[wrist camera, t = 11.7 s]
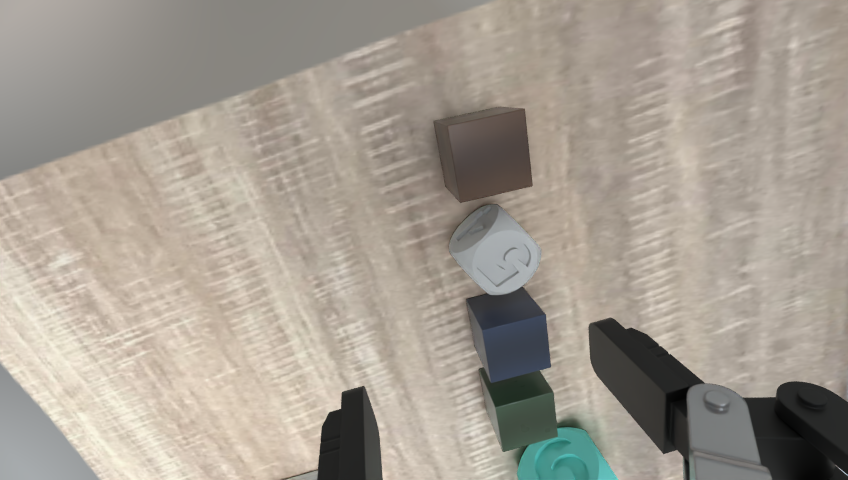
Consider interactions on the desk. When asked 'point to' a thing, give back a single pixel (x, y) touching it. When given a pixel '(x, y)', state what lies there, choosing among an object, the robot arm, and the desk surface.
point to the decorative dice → (564, 459)
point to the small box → (306, 476)
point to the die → (495, 250)
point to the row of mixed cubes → (509, 313)
